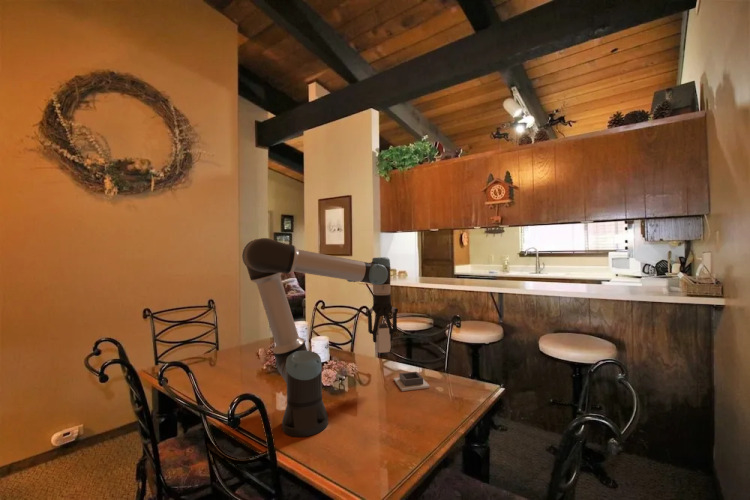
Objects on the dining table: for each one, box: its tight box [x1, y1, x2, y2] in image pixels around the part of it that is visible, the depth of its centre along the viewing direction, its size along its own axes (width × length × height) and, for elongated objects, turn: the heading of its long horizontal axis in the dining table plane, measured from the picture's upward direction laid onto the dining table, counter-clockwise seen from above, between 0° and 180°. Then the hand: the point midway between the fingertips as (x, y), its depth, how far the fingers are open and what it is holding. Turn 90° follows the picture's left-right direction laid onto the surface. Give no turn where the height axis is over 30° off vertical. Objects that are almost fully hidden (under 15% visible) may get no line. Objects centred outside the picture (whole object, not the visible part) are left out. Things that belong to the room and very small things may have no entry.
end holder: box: [393, 371, 431, 392], centre depth 145 cm, size 12×12×4 cm
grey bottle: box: [377, 322, 390, 354], centre depth 142 cm, size 4×4×12 cm
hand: (382, 349), depth 142 cm, fingers closed on grey bottle, 4 cm apart
